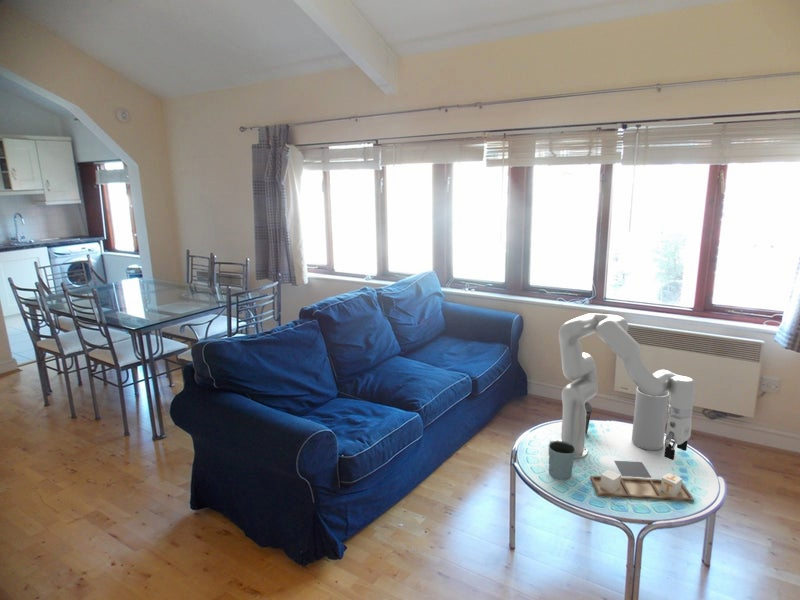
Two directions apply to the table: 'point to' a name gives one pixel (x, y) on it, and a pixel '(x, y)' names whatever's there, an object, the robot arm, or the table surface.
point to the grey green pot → (561, 459)
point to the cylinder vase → (649, 420)
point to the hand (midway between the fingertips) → (675, 453)
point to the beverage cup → (587, 414)
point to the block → (610, 481)
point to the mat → (632, 469)
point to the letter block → (671, 484)
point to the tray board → (641, 490)
